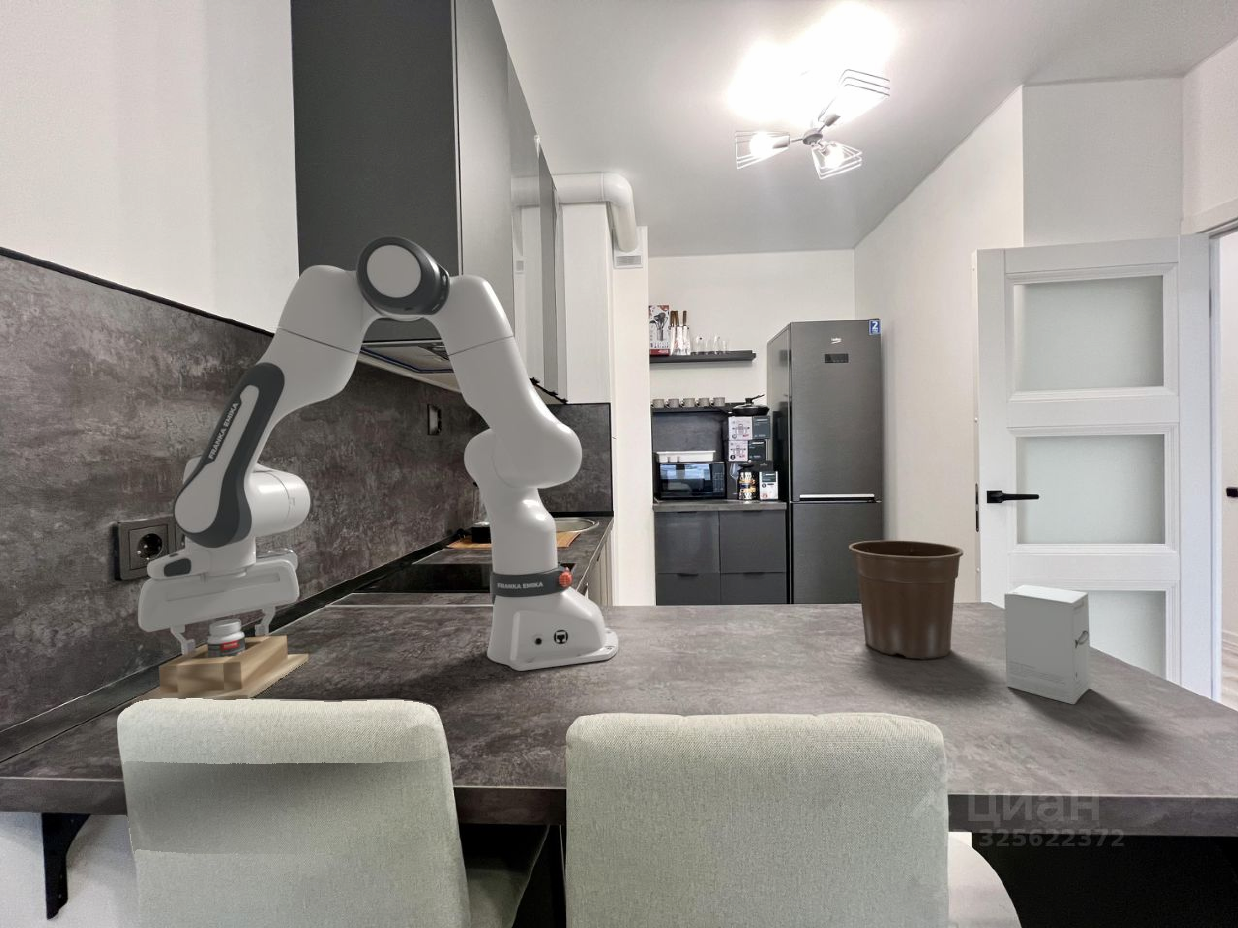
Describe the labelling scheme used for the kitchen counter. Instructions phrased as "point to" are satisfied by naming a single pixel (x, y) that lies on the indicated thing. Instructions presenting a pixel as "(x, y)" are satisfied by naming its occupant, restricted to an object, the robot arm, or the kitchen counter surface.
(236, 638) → the pill bottle
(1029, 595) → the supplement box
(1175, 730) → the kitchen counter surface
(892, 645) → the plant pot
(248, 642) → the birch socket block
